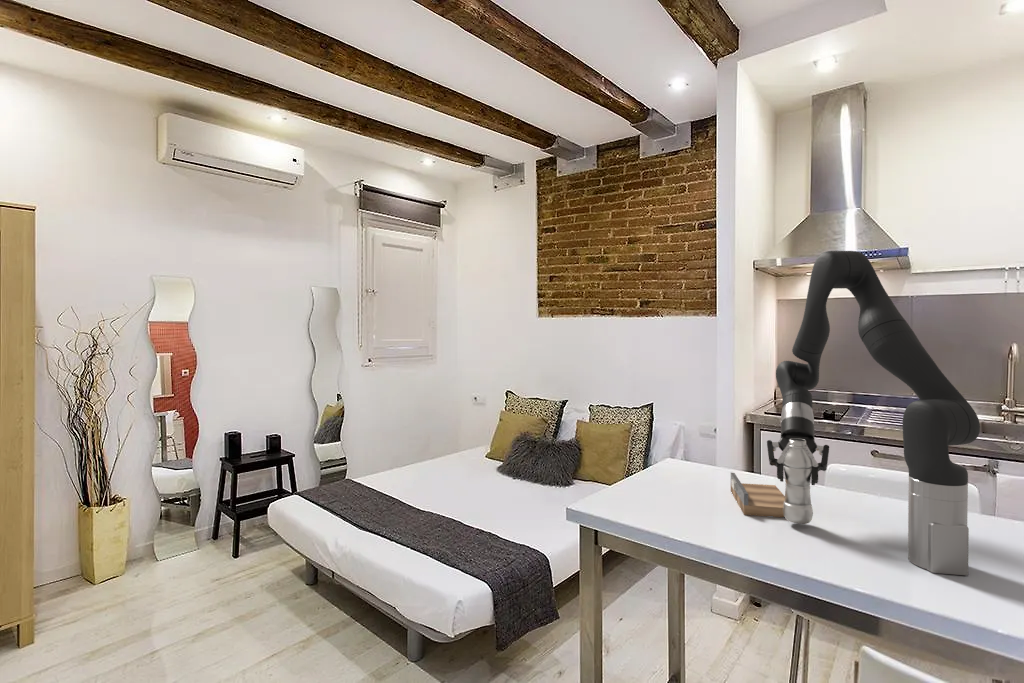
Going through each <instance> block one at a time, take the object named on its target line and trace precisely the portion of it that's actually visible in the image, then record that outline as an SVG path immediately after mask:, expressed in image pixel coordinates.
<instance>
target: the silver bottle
mask: <svg viewBox="0 0 1024 683" xmlns="http://www.w3.org/2000/svg"><path fill="white" fill-rule="evenodd" d="M789 447H790V450H789V451H788V452H787V453H786V455H785V456H784V458H783V464H784V465H783V467H784V480H785V489H784V490H785V491H784V496H785V501H784V504H783V514H784V517H785V520H787V521H788V522H790V523H794V524H797V525H799V524H800V525H806V524H809V523H810V522H812V519H813V516H814V509H813V506H812V500H811V471H812V466H813V462H812V459H811V458H810V456H809V454H808V453H807V452H806V451H805V449H806V448H807V446H806V440H804V439H798V438H791V439H789Z"/></svg>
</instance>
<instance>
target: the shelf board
mask: <svg viewBox="0 0 1024 683" xmlns="http://www.w3.org/2000/svg"><path fill="white" fill-rule="evenodd" d="M741 484H742V485H743V487H744V488H745V490H746V491H747V493H748V505H744V504H743V503H742V501H741V499H740V498H739V496H738V494H737V493H736V491H735V490H733V488H732V486H731V485H730V493H731V492H732V493H731V495H732V494H733V495H732V496H733V497H734V500H735V501H737V502H736V503H737V506H738V507H739V509H740V508H741V509H740V511H741V512H742V514H743V515H744V516H753V515H754V517H755V516H756V517H767V516H773V517H772V518H782V517H784V514H783V504H784V501H785V494H784V493H783V492H782V491H781V490H780V489H779V488H778V487H777V485H776V484H764V483H763V484H761V483H759V484H758V483H742V482H741Z"/></svg>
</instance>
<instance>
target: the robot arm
mask: <svg viewBox="0 0 1024 683" xmlns="http://www.w3.org/2000/svg"><path fill="white" fill-rule="evenodd" d="M834 289H846V290H848V291H849V292H850V293H851V294H852V295H853V297H854V298H855V300H856V302H857V303H858V305H859V317H858V325H857V330H858V331H857V332H858V336H859V338H860V340H861V342H862V343H863V345H864V346H865V347H866V349H867V351H868V353H869V354H870V356H871V357H872V359H873V360H874V361H875V362H876V363H877V364H879V365H880V366H881V367H882V368H883V369H884V370H886V371H887V372H888V373H890V374H891V375H893V376H894V377H896V378H897V379H898V380H900V381H901V382H903V383H904V384H905V385H907V386H908V387H909V388H910V389H911V390H912V392H914V394H915V395H916V396H917V398H918V399H919V400H914V401H912V402H910V403H909V404H908V405H907V407H905V410H904V412H903V416H902V425H901V426H902V442H903V457H904V460H905V463H906V466H907V469H908V491H907V492H908V494H907V495H908V506H907V507H908V508H907V509H908V513H907V514H908V515H907V516H908V517H907V518H908V519H907V523H908V524H907V530H908V531H907V532H908V533H907V541H908V542H907V543H908V544H907V546H908V548H907V549H908V550H907V559H908V561H909V562H910V563H912V564H914V565H915V566H917V567H919V568H922V569H924V570H927V571H928V572H930V573H933V574H944V575H945V574H946V575H955V576H956V575H958V576H967V577H968V576H969V547H970V546H969V541H970V539H969V536H970V534H969V532H970V531H969V527H968V510H969V509H968V505H969V504H968V503H969V502H968V501H969V500H968V498H969V495H968V494H969V472H968V470H967V468H966V467H964V466H962V465H960V464H957V463H954V462H953V461H951V458H950V451H949V446H961V445H969V444H971V443H973V442H974V441H976V440H977V439H978V437H979V435H980V432H981V425H980V424H981V423H980V420H979V419H980V418H979V417H978V415H977V413H976V411H975V410H974V408H973V407H972V406H971V404H970V403H969V402H968V400H967V399H966V398H965V397H964V396H963V395H962V393H960V391H959V390H958V389H957V388H956V387H955V386H954V384H952V382H951V381H950V380H949V378H947V377H946V375H945V374H944V373H943V372H942V370H941V369H940V368H939V366H938V365H937V364H936V362H935V361H934V359H933V358H932V356H931V355H930V354H929V352H928V351H927V350H926V348H925V347H924V346H923V344H922V343H921V342H920V340H919V338H918V337H917V335H916V334H915V332H914V330H913V329H912V328H911V326H910V324H909V323H908V322H907V320H906V319H905V318H904V317H903V315H902V314H901V313H900V311H899V310H898V308H897V307H896V305H895V304H894V302H893V301H892V299H891V297H890V296H889V294H888V293H887V291H886V290H885V288H884V286H883V284H882V282H881V280H880V279H879V276H878V274H877V272H876V270H875V269H874V267H873V265H872V263H871V261H870V260H869V258H868V257H867V256H866V255H865V254H864V253H862V252H859V251H856V250H827V251H824V252H822V253H821V254H819V255H818V257H817V258H816V259H815V261H814V263H813V266H812V270H811V273H810V278H809V285H808V289H807V295H806V302H805V306H804V313H803V317H802V321H801V323H800V324H801V325H800V328H799V330H798V332H797V335H796V338H795V340H794V343H793V345H792V349H791V352H792V355H793V356H794V357H795V358H798V359H799V360H801V361H804V362H806V363H803V362H797V361H792V360H784V361H781V362H780V363H779V364H778V365H777V366H776V369H775V379H776V383H777V386H778V388H779V390H780V394H781V397H782V398H781V399H782V404H781V405H782V406H781V407H782V408H781V415H780V439H779V440H778V441H774V442H773V441H772V440H771V439H769V440H767V441H766V448H767V456H768V462H769V465H770V466H771V467H772V466H775V467H776V477H777V479H778V480H779V481H780V483H781V482H782V483H784V476H785V472H784V466H783V465H784V464H783V458H784V456H785V455H786V453H787V452H788V451H789V450H790V447H789V439H791V438H798V439H804V440H806V446H807V448H806V449H805V451H806V452H807V453H808V454H809V456H810V458H811V459H812V462H813V466H812V471H811V480H810V485H811V486H815V485H816V484H818V483H819V472H821V471H823V472H826V471H827V470H828V461H829V457H830V456H829V455H830V445H828V444H825V445H819V444H817V443H816V442H815V418H814V417H815V416H814V410H813V395H812V393H811V391H810V390H813V389H815V388H816V387H818V384H819V380H820V364H821V358H822V356H823V351H824V350H825V347H826V344H827V343H828V340H829V337H830V331H831V330H830V329H831V326H830V322H829V317H828V312H827V303H828V299H829V296H830V294H831V293H832V291H833V290H834ZM777 448H779V449H780V450H781V453H780V456H779V457H778V459H777V458H775V452H776V451H777ZM816 451H817V452H818V454H819V455H820V456H821V462H817V460H816V459H815V456H814V455H813V454H815V452H816Z"/></svg>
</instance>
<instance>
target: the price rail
mask: <svg viewBox="0 0 1024 683" xmlns="http://www.w3.org/2000/svg"><path fill="white" fill-rule="evenodd" d="M741 483H742V482H741V481H740V479H739V478H738V477H737V475H736V473H735V472H730V487H731V486H732V488H733V490H735V491H736V493H737V494H738V496H739V498H740V499H741V501H742V503H743V504H744V505H748V493H747V491H746V490H745V488H744V487H743V485H742V484H741Z"/></svg>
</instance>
